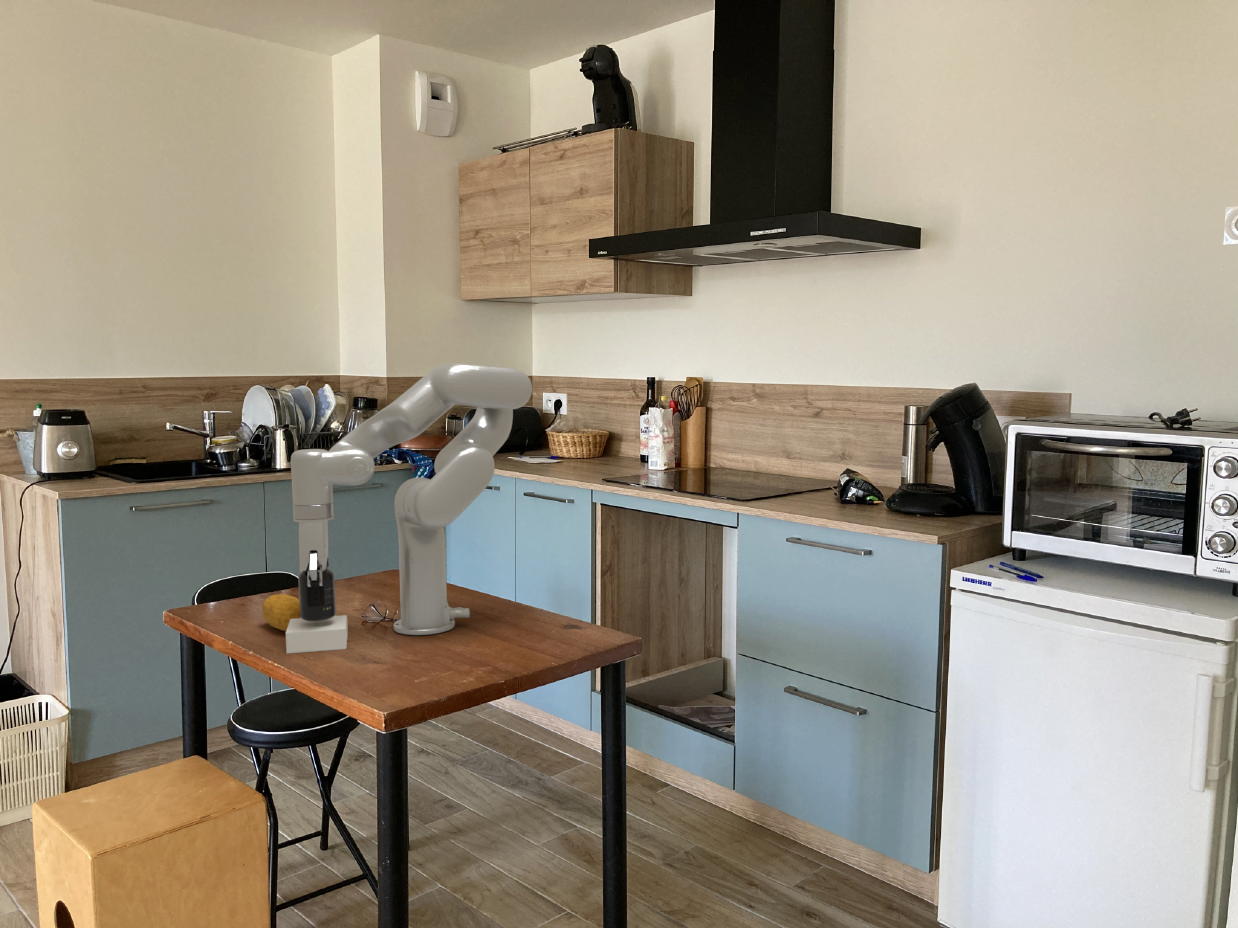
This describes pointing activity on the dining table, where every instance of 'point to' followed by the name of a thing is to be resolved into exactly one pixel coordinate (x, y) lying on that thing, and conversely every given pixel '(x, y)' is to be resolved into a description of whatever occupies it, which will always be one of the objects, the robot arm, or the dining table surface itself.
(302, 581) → the supplement bottle
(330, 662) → the dining table surface
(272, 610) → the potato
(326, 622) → the stand
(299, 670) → the dining table surface
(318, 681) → the dining table surface
